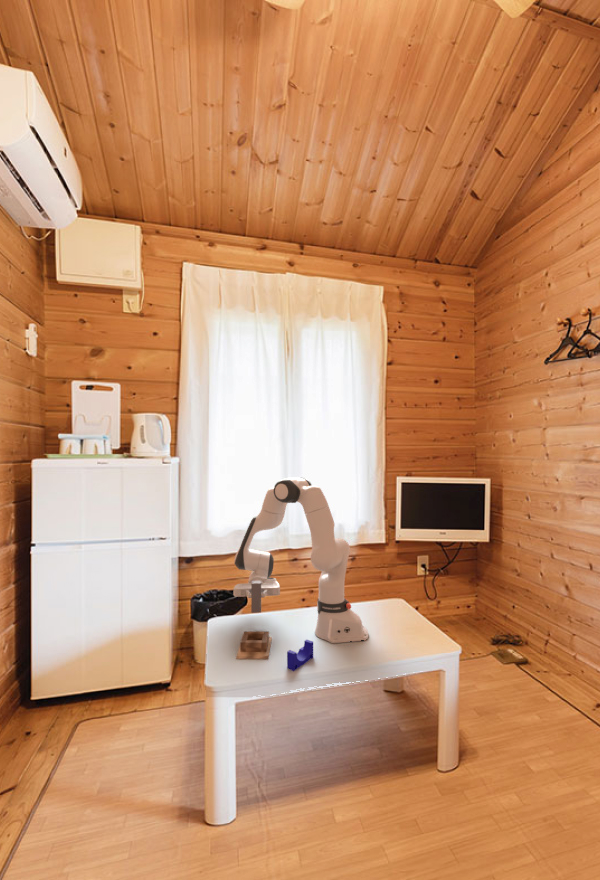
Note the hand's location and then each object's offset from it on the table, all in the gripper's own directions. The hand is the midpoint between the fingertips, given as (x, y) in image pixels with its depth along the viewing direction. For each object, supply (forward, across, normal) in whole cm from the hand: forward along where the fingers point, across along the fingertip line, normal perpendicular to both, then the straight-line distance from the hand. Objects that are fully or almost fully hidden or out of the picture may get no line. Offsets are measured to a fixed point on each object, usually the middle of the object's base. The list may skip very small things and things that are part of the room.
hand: (256, 595), depth 169 cm
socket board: (+11, 0, +17) cm, 20 cm away
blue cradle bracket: (+22, +16, +17) cm, 33 cm away
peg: (-1, 0, +6) cm, 7 cm away
